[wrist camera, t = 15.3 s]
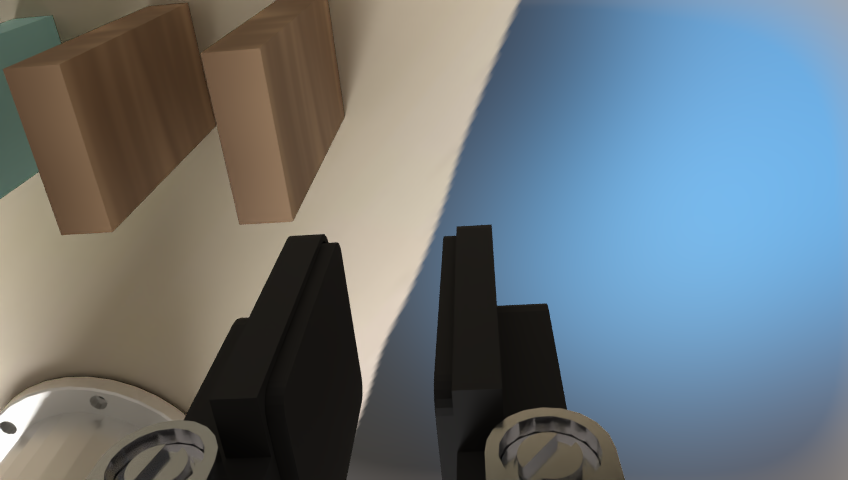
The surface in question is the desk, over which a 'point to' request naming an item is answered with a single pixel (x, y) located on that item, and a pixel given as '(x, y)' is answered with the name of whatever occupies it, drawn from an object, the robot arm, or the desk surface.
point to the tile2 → (113, 114)
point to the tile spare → (3, 131)
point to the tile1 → (275, 105)
